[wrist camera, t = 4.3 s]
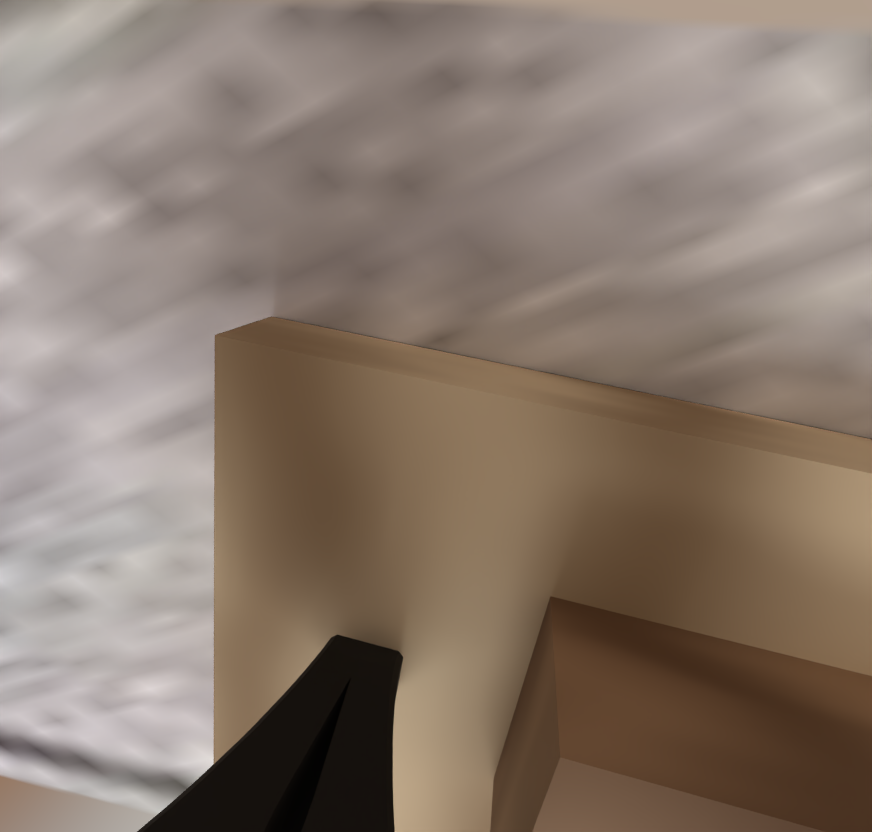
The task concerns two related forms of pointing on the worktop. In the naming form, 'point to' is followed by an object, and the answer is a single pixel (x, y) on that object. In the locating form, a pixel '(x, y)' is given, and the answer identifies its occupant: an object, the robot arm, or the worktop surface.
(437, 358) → the birch board
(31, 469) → the worktop surface
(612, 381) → the worktop surface
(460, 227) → the worktop surface
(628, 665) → the walnut block
